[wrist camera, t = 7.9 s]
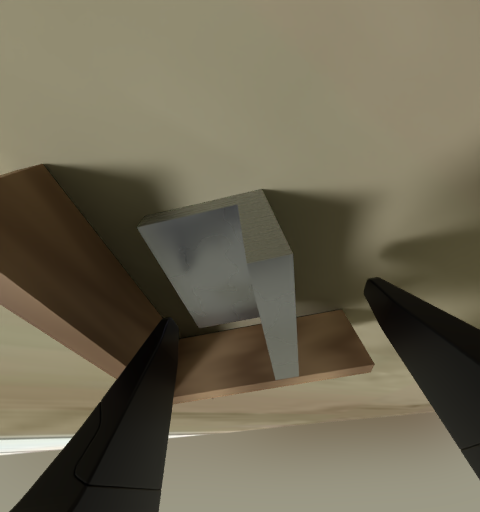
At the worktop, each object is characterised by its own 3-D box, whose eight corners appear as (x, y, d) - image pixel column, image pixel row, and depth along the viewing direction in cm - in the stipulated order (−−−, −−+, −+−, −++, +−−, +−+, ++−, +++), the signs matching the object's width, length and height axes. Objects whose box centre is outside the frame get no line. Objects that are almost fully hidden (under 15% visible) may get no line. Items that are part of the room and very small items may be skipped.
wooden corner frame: (389, 74, 7) (541, 47, 4) (340, 318, 16) (370, 372, 12) (14, 171, 8) (-135, 218, 4) (170, 348, 17) (159, 406, 13)
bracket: (276, 298, 14) (299, 376, 10) (200, 313, 14) (192, 393, 10) (261, 187, 9) (292, 254, 5) (145, 215, 9) (88, 296, 5)
